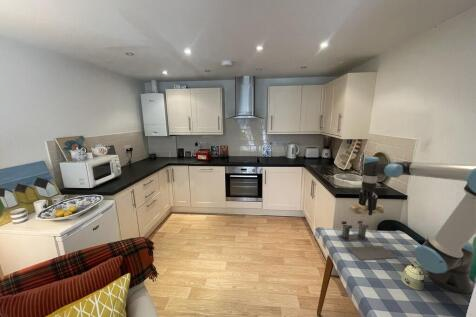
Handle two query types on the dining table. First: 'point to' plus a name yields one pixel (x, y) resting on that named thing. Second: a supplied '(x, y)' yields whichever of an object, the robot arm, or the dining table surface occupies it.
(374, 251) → the mat
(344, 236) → the stand
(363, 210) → the bread loaf
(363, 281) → the dining table surface
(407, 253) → the dining table surface
